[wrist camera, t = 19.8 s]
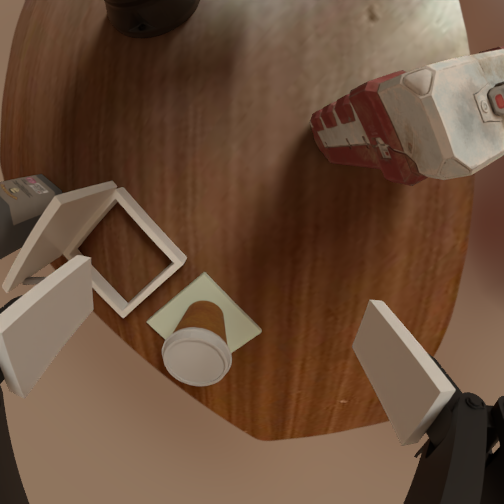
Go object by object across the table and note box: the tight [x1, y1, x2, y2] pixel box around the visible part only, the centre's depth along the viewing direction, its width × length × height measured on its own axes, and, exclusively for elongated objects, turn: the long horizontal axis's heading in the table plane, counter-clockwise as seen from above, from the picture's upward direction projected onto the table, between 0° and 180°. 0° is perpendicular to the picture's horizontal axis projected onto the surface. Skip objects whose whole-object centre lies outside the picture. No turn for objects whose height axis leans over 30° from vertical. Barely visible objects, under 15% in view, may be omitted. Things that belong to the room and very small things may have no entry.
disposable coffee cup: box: [162, 300, 232, 386], centre depth 42 cm, size 10×10×12 cm
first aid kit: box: [309, 46, 504, 186], centre depth 25 cm, size 23×8×30 cm, turn 118°
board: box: [147, 272, 262, 353], centre depth 49 cm, size 14×14×1 cm
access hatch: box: [2, 181, 187, 318], centre depth 36 cm, size 16×16×18 cm
